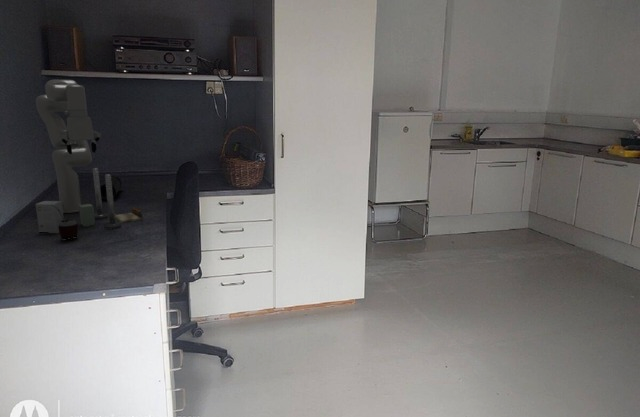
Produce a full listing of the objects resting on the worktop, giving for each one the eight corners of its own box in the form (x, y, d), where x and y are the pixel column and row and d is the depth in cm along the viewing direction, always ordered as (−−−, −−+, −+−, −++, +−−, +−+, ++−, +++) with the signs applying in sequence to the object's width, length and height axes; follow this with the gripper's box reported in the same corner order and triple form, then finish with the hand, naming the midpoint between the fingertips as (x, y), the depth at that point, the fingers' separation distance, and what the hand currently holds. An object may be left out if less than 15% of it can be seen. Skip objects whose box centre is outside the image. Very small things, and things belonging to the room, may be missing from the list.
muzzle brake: (98, 202, 263) (96, 183, 260) (106, 191, 289) (104, 174, 286) (117, 201, 265) (115, 182, 263) (123, 190, 291) (121, 173, 289)
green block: (83, 226, 217) (81, 207, 215) (80, 224, 221) (78, 205, 219) (95, 225, 220) (93, 206, 218) (92, 222, 224) (90, 203, 222)
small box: (65, 229, 213) (61, 200, 210) (57, 233, 207) (53, 204, 204) (47, 229, 213) (43, 200, 210) (38, 233, 207) (34, 204, 204)
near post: (106, 229, 213) (101, 176, 207) (102, 226, 218) (97, 174, 213) (123, 227, 217) (118, 175, 212) (118, 223, 223) (113, 172, 217)
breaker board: (121, 223, 224) (120, 215, 223) (113, 217, 233) (112, 209, 232) (142, 219, 230) (142, 211, 229) (134, 214, 239) (133, 206, 238)
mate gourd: (81, 239, 200) (77, 204, 196) (61, 243, 195) (56, 207, 191) (75, 235, 205) (71, 201, 201) (55, 239, 200) (50, 204, 196)
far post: (94, 220, 228) (89, 170, 222) (90, 216, 234) (85, 167, 228) (110, 217, 233) (105, 168, 227) (105, 214, 238) (101, 166, 232)
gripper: (57, 114, 203) (62, 155, 207) (101, 113, 213) (105, 152, 217) (54, 114, 208) (59, 153, 212) (96, 113, 219) (100, 150, 223)
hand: (82, 153), depth 215 cm, fingers open, 9 cm apart
